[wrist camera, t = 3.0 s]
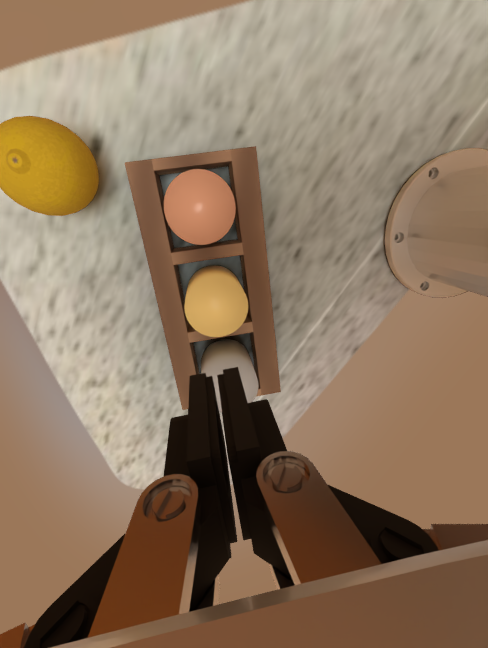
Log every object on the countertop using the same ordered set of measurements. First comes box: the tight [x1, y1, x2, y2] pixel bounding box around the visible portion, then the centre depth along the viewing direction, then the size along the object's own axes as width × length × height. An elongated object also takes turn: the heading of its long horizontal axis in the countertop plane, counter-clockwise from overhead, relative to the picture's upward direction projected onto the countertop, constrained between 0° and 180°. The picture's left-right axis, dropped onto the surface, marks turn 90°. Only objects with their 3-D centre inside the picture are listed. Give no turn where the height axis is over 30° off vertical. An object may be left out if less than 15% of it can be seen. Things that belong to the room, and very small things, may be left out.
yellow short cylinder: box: [184, 265, 248, 337], centre depth 24 cm, size 4×4×4 cm
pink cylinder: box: [164, 169, 236, 245], centre depth 22 cm, size 4×4×4 cm
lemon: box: [0, 116, 99, 216], centre depth 20 cm, size 6×6×8 cm
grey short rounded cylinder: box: [201, 339, 258, 412], centre depth 26 cm, size 4×4×4 cm
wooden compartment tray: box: [125, 146, 281, 410], centre depth 26 cm, size 9×20×3 cm, turn 7°
